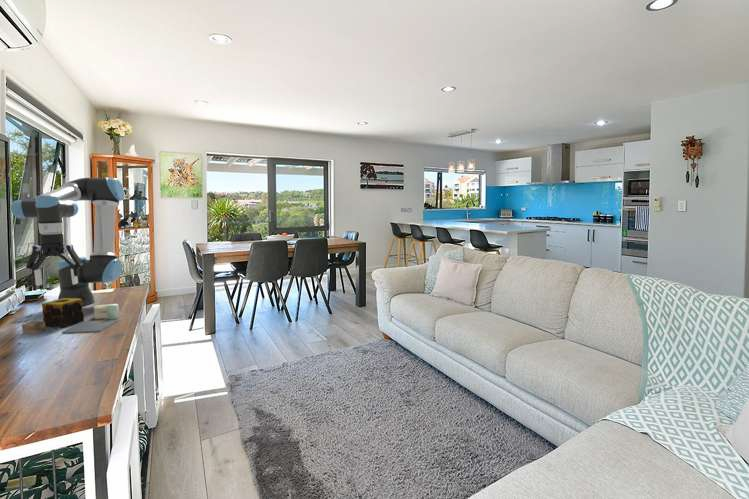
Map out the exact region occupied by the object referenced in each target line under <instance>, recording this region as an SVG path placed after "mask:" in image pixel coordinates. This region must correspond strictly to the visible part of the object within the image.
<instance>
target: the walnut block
mask: <svg viewBox="0 0 749 499" xmlns="http://www.w3.org/2000/svg"><path fill="white" fill-rule="evenodd" d="M46 328H47V327H45V321H43V320H32V321H28V322H25V323H22V324H21V331H22V332H21V333H22V335H32V336H33V335H37V334H40V333H43V332H46V330H47V329H46Z"/></svg>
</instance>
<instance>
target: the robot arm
mask: <svg viewBox="0 0 749 499" xmlns="http://www.w3.org/2000/svg"><path fill="white" fill-rule="evenodd" d="M124 198H125V190H124V186H123V184H122V182H121V181H120V179H118V178H115V177H83V178H82V177H81V178H77V179H74V180H71V181H68V182H65V183H63V184H62V185H60V186H59V187H58V188H55V189H53V190H51V191H48V192H45V193H42V194H38V195H36V196H35V197H32V198H29V199H19V200H14V201H13V202H12V203H11V205H10V211H11V213H12V215H13V216H14V217H15V218H18V219H37V223H38V231H39V234H40V235H39V240H40V244H41V245H38V244H37V245H33V246H32V249H31V250H32V252H31V254H30V255H29V256H30V257H29V258H28V260H27V264H26V266H25V268H26V269H29V270H31V272H32V274H31V275H32V277H33V278H34V280H35V281H34V282H35V286H37V287H39V286H42V285H43V277H42V269H41V268H40V267H41V265H42V264H43V263H44V262H45V261H46V260H47V258H48V257H59V258H61V259H63V260H59V261H58V262H57V273H58V274H57V275H58V282H59V294H58V298H57V300H58V299H62V298H77V299H82V307H83V306H87V305H91V304H94V303H95V297H94V294H93V292H92V290H91V289H90V284H95V283H100V284H101V283H113V282H117V280H118V279H119V278H120V277H121V274H122V270H123V264H122V260H120V259H119V258H118V255H117V254H116V253H115V236H116V235H115V234H116V233H115V232H116V231H115V230H116V229H115V228H116V227H115V226H116V208H117V207H118V206H119V205H120V201H123V200H124ZM79 201H90V202H92V204H93V205H94V206H95V211H94V214H95V215H94V233H93V234H94V236H93V238H94V239H93V252H92V253H91V254H90V255H89V259H88V258H87V257H86V256H80V257H79V255H78V254H77V252H76V251H75V249H74V245H73V244H67V245H66V244H64V241H65V239H64V234H63V231H64V230H63V224H62V223H63V222H62V218H71V217H74V216H76V215H77V214H78V212H79V206H78V204H77V202H79ZM65 250H66V251H67V252H66V251H65ZM41 251H42V253H41V254H40V252H41ZM38 256H39V257H38ZM37 258H38V259H37Z"/></svg>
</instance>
